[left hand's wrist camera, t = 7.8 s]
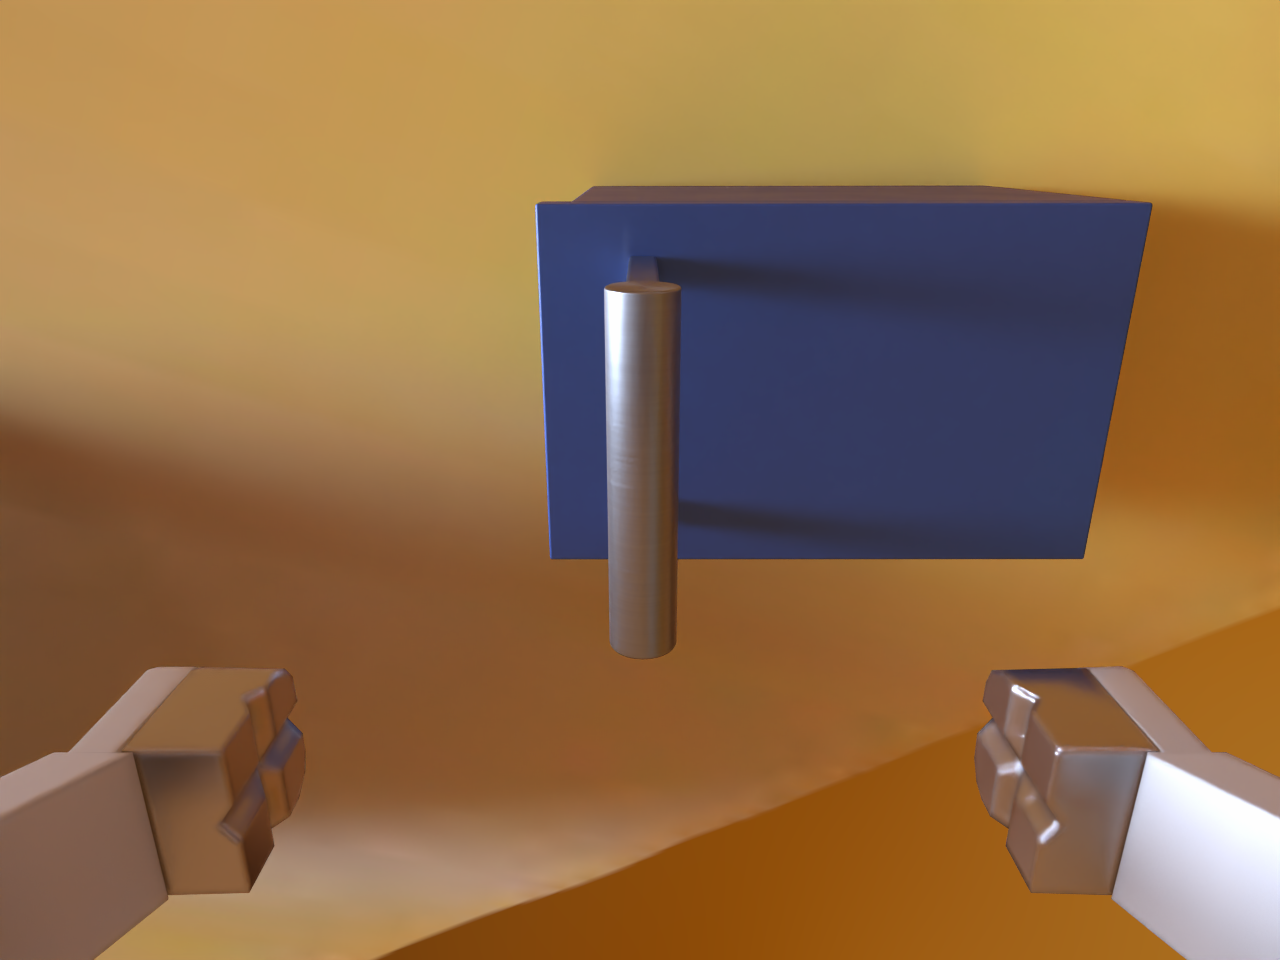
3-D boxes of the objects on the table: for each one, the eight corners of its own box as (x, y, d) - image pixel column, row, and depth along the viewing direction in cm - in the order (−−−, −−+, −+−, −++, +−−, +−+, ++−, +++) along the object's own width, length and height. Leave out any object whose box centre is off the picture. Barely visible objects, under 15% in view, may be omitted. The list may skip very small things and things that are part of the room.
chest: (596, 438, 36) (579, 543, 26) (591, 186, 33) (570, 201, 23) (952, 438, 36) (1066, 543, 26) (985, 185, 33) (1130, 200, 23)
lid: (553, 544, 26) (517, 705, 19) (539, 201, 23) (488, 227, 15) (1067, 543, 26) (1241, 705, 19) (1131, 200, 23) (1377, 225, 15)
